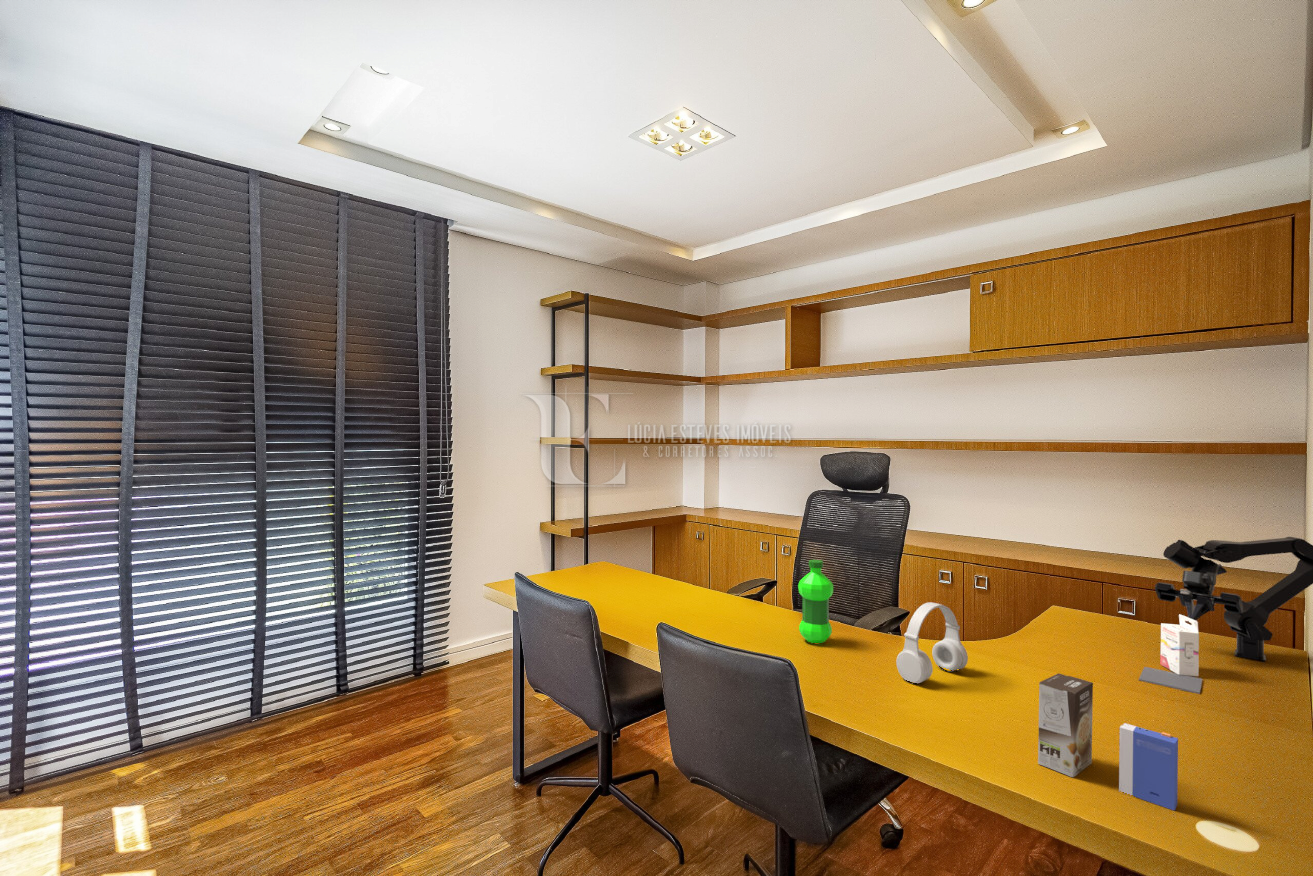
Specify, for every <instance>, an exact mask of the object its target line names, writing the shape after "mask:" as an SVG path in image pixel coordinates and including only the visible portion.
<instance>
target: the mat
mask: <svg viewBox="0 0 1313 876" xmlns="http://www.w3.org/2000/svg"><path fill="white" fill-rule="evenodd" d="M1138 681H1140V682H1145V683H1149V684H1154V685H1158V686H1163V687H1166V688H1167V687H1168V688H1171V689H1175V690H1181V691H1184V692H1188V693H1192V694H1198V695H1200V693H1201V689H1202V684H1203V678H1201V677H1197V676H1188V675H1178V674H1177V673H1175V672H1173V671H1167V670H1163V669H1158V668H1152V667H1148V666H1144V667H1143V669H1142V671H1141V673H1140V676H1139V677H1138Z"/></svg>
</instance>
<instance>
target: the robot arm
mask: <svg viewBox="0 0 1313 876" xmlns="http://www.w3.org/2000/svg"><path fill="white" fill-rule="evenodd" d="M1288 553H1291V554H1292V555H1293V556H1294V558H1297V559H1298V561H1297V564H1296V567H1295V570H1294V571H1292V572H1291V573H1289V574H1288V575H1286V576H1285V577H1283V578H1282V579H1281V580H1279V581H1278V582H1276V583H1275V584H1274V585H1272V586H1271V587H1269V588H1268V589H1267V590H1265V591H1263V592H1262V593H1261V594H1260V595H1258V596H1256V597H1255V598H1254V599H1252V600H1250V601H1244V600H1243V599H1242V597H1241V596H1240V594H1236V593H1229V592H1223V591H1221V593H1220V595H1219V596H1218V595H1214V594H1213V593H1214V591H1215V586H1216V584H1217V578H1218V576H1219V575H1223V574H1226V573H1228V571H1227V570H1226V568H1224V567H1223V566H1222V564H1220V563H1219V564H1218V563H1217V562H1221V563H1223V564H1224V563H1225V564H1231V563H1233V562H1238V561H1241V560H1243V559H1245V558H1249V557H1254V556H1255V557H1256V556H1269V555H1278V554H1288ZM1162 555H1163V557H1164V558H1165V559H1167V560H1168V561H1170V562H1172V563H1174V564H1175V565H1176V566H1179V567H1180V568H1182V569H1191V570H1183V573H1182V580H1181V582H1182V583H1183V584H1182V586H1183V588H1180V589H1176V588H1175V586H1174V584H1172V583H1166V582H1160V581H1158V582H1157V583H1156V584H1155V586H1154V591H1155V593H1156V596H1157V599H1159V600H1160V601H1165V602H1170V603H1173V602H1175V601H1176V600H1177V598H1178V599H1179V601H1180V605H1181V606H1183V607H1185V608H1186V611H1187V617H1188V618H1191V619H1193V620H1195V621H1198V620H1199V619H1200V618H1201V617H1202V616H1204V615H1205V614H1208V613H1209V612H1215V610H1216V609H1215V605H1216V604H1218V605H1224V606H1223V609H1224V610H1225V611H1224V612H1223V619H1224V622H1225V623H1226V624H1227V625H1228V626H1229V627H1230V630H1231V631H1232V632H1235V633H1236V649H1234V657H1239V658H1244V659H1248V660H1255V661H1259V660H1260V662H1267V657H1266V654H1265V653H1264V651H1265V648H1264V647H1265V641H1268V642H1269V641H1270V642H1271V640H1272V637H1273V636H1274V633H1272V632H1271V631H1270V630H1269V629H1268V628H1267V627H1266V626H1265V625H1266V624H1267V623H1268V620H1269V617H1270V615H1271V614H1272V613H1273V612H1274V611H1276V610H1277V609H1279V608H1281V607H1282V606H1283V605H1285V604H1286V603H1288V602H1289V601H1290V600H1292V599H1293V598H1294V597H1296V596H1298V595H1299V594H1301V593H1302V592H1303V591H1305V590H1307V588H1309V587H1310V586H1312V585H1313V544H1311V543H1310V542H1308V541H1307V540H1306V539H1303V538H1298V537H1296V536H1286V537H1280V538H1270V539H1259V540H1248V541H1232V540H1221V539H1220V540H1214V539H1211V540H1207V541H1206V542H1205V543H1204V544H1202V545H1198V546H1195V547H1193V546H1191V545H1189V543H1188V542H1187V541H1185V540H1183V539H1178V540H1177V541H1176V542H1173V543H1171V544H1170V545H1169V546H1166V548H1165V549H1164V550H1163V554H1162ZM1206 558H1207V559H1206ZM1215 561H1217V562H1215ZM1194 601H1196V604H1195V603H1194Z"/></svg>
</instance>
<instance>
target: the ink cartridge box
mask: <svg viewBox="0 0 1313 876" xmlns="http://www.w3.org/2000/svg"><path fill="white" fill-rule="evenodd" d="M1178 619H1179V621H1178V622H1179V624H1174V623H1160V659H1159V660H1160V663H1159V664H1160V665H1161V666H1162V667H1164V668H1165V669H1168V670H1170V672H1172V673H1177V674H1178V675H1187V676H1191V677H1199V669H1200V667H1199V661H1200V659H1199V658H1200V657H1199V655H1200V654H1199V653H1200V646H1199V645H1200V633H1199V622H1198V620H1196V621H1195V620H1193V619H1191V618H1189V617H1188V616H1185V615H1184V614H1183V615H1182V614H1180V613H1179V615H1178ZM1189 623H1190V624H1189Z"/></svg>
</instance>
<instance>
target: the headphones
mask: <svg viewBox="0 0 1313 876" xmlns="http://www.w3.org/2000/svg"><path fill="white" fill-rule="evenodd" d="M935 609H940V611H941V613H942V614H943V616H944V621H945V634H944V638H943V639H942V640H940V641H937V642H936V643H935V644H933V647H932V651H931V652H932V653H931V654H932V658H933V660H934V663H935V664H936V666H938V667H939V666H940V667H942V668H946V669H949V670H952V671H951V672H955V671H954V670H957V669H961V670H962V669H964V668H965V667H966V666H967V664H968V660H969V656H968V652H967V650H966V648H965V647H964V645H963V644H962V642H961V638H960V637H961V636H960V633H959V632H960V631H959V630H960V629H961V626H960V625H958V624H959V623H958V621H957V618H956V615H955V613H954V612H953V611H952V610H951V608H949V607H948V606H946V605H944V604H941V603H936V602H932V601H930V602H925V603H923V604H922V605H920V606H919V607H918V608H916V610H915V611H914V613H913V615H912V616H911V618H910V621H909V623H908V627H907V629H906V632H905V633H904V634H903V636H904V638H905V639H904V646H903V649H902V651H901V652H899V653H898V655H897V657H896V661H895V663H896V668H897V671H898V673H899V675H900V676H901V677H902V679H904V681H906V680H907V681H910V682H913V683H917V684H920V683H923V682H924V681H927V680H929V679H930V678H931V676H932V674H933V670H934V669H933V664H932V663H933V662H932V661H931V659H930V657H929V656H928V654H927V653H926V652H925V651H923V650H921V649H920V648H919V639H920V636H919V633H920V631H921V628H922V625H923V623H924V621H925V619H926V617H928V615H929V613H930V612H932V611H934V610H935ZM940 667H939V668H940ZM957 671H958V670H957ZM907 681H906V682H907ZM913 683H912V684H913Z"/></svg>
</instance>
